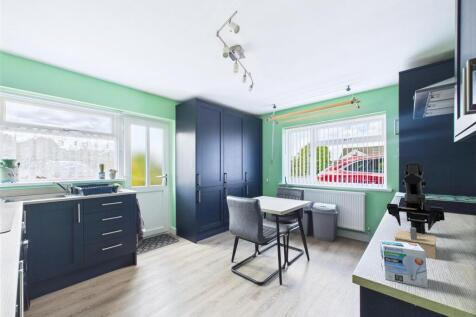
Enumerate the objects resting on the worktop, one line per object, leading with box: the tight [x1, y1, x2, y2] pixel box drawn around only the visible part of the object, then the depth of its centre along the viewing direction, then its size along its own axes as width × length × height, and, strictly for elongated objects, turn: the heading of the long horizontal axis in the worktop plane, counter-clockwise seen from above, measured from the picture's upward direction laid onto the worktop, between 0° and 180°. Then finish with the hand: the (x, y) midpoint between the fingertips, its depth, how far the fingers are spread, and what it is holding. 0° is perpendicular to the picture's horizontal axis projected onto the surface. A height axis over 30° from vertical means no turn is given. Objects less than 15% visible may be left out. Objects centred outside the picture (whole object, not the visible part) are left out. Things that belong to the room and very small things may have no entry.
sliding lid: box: [393, 226, 437, 245], centre depth 84 cm, size 12×12×5 cm
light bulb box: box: [379, 239, 429, 289], centre depth 63 cm, size 11×7×11 cm, turn 62°
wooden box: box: [394, 238, 437, 260], centre depth 83 cm, size 12×12×5 cm
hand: (413, 227), depth 82 cm, fingers open, 9 cm apart
